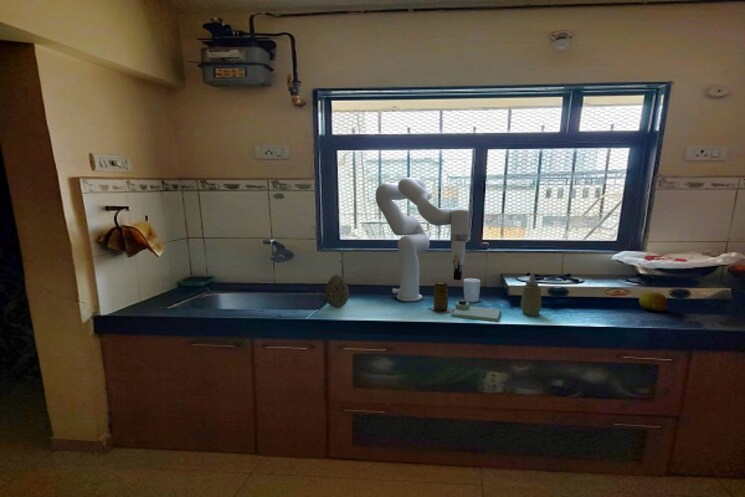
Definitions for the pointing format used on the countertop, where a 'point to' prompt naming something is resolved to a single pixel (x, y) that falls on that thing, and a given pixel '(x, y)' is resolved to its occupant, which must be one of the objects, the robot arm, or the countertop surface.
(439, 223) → the robot arm
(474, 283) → the white cup
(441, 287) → the condiment
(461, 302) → the tare button
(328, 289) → the decorative egg
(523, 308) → the squeeze bottle
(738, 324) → the countertop surface
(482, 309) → the scale
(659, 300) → the fruit
